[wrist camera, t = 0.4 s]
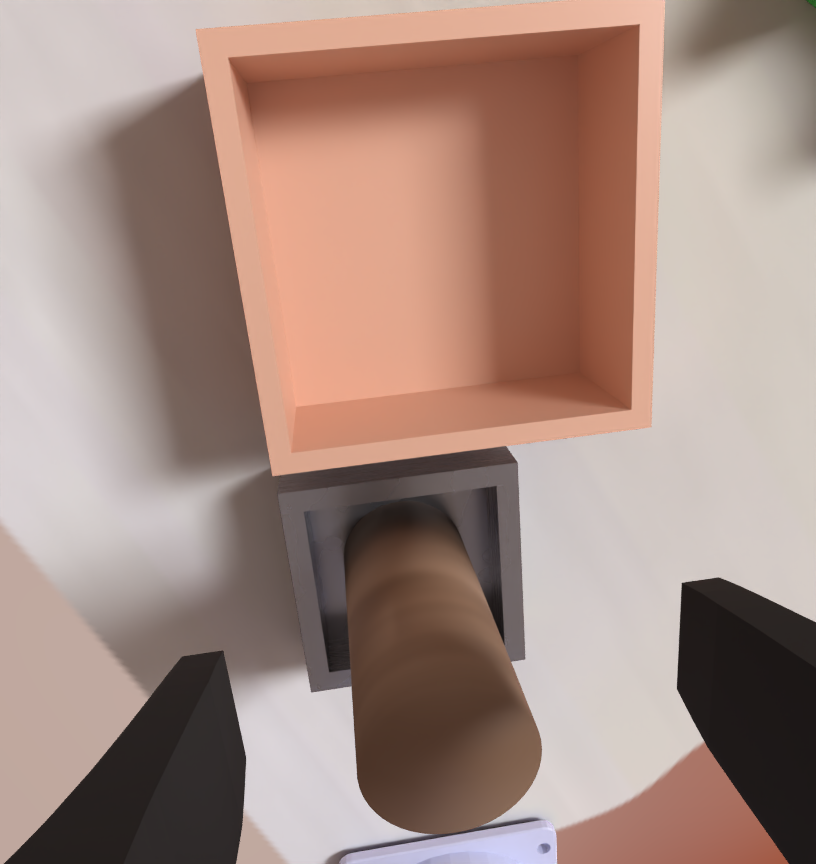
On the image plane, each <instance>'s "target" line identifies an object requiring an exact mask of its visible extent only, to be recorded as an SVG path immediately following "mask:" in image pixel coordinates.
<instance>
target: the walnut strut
mask: <svg viewBox="0 0 816 864" xmlns="http://www.w3.org/2000/svg"><path fill="white" fill-rule="evenodd" d="M344 571H345V587H346V603H347V619H348V635H349V651H350V667H351V684H352V700H353V716H354V732H355V748H356V764H357V779H358V783H359V787H360V790H361V792H362V795H363V797H364V799H365V800H366V802H367V803H368V805H369V806H370V807H371V808H372V809H373V810H374V811H375V812H376V813H377V814H378V815H379V816H380V817H382V818H383V819H384V820H386V821H388V822H389V823H391V824H393V825H395V826H398V827H400V828H402V829H406V830H409V831H413V832H418V833H425V834H449V833H457V832H461V831H466V830H470V829H473V828H476V827H479V826H481V825H483V824H486V823H488V822H490V821H492V820H494V819H496V818H497V817H499V816H501V815H502V814H504V813H505V812H506V811H508V810H509V809H510V808H512V807H513V806H514V805H515V804H516V803H517V802H518V801H519V800H520V799H521V798H522V797H523V796H524V795H525V793H526V792H527V791H528V789H529V788H530V786H531V785H532V783H533V781H534V779H535V777H536V775H537V772H538V770H539V767H540V762H541V754H542V746H541V738H540V735H539V731H538V728H537V726H536V723H535V721H534V718H533V716H532V713H531V711H530V708H529V706H528V703H527V701H526V698H525V696H524V693H523V691H522V688H521V686H520V683H519V681H518V678H517V676H516V673H515V671H514V668H513V666H512V663H511V661H510V658H509V656H508V653H507V651H506V648H505V646H504V643H503V641H502V638H501V636H500V633H499V631H498V628H497V626H496V623H495V621H494V618H493V616H492V613H491V611H490V608H489V606H488V603H487V601H486V598H485V596H484V593H483V591H482V588H481V586H480V583H479V581H478V578H477V576H476V573H475V571H474V568H473V566H472V563H471V561H470V558H469V556H468V553H467V551H466V548H465V546H464V543H463V540H462V538H461V535H460V533H459V531H458V529H457V527H456V526H455V524H454V523H453V521H452V520H451V519H450V518H449V517H448V516H447V515H446V514H444V513H443V512H442V511H440V510H439V509H437V508H435V507H433V506H431V505H428V504H425V503H421V502H415V501H400V502H394V503H389V504H386V505H383V506H381V507H379V508H376V509H374V510H373V511H371V512H370V513H368V514H367V515H366V516H364V517H363V518H362V519H361V520H360V521H359V522H358V523H357V524H356V525H355V527H354V528H353V529H352V531H351V533H350V535H349V536H348V539H347V542H346V545H345V549H344Z"/></svg>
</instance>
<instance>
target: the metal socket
mask: <svg viewBox="0 0 816 864" xmlns="http://www.w3.org/2000/svg"><path fill="white" fill-rule="evenodd" d="M277 495H278V501H279V507H280V513H281V519H282V524H283V530H284V536H285V542H286V548H287V554H288V559H289V565H290V571H291V577H292V583H293V589H294V594H295V600H296V606H297V612H298V618H299V624H300V630H301V635H302V641H303V647H304V653H305V659H306V665H307V670H308V676H309V682H310V688H311V692H317V691H324V690H330V689H337V688H343V687H350V686H352V684H351V667H350V651H349V635H348V619H347V603H346V587H345V571H344V549H345V545H346V542H347V539H348V536H349V535H350V533H351V531H352V529H353V528H354V527H355V525H356V524H357V523H358V522H359V521H360V520H361V519H362V518H363V517H364V516H366V515H367V514H368V513H370V512H371V511H373V510H374V509H376V508H379V507H381V506H383V505H386V504H389V503H394V502H400V501H415V502H421V503H425V504H428V505H431V506H433V507H435V508H437V509H439V510H440V511H442V512H443V513H444V514H446V515H447V516H448V517H449V518H450V519H451V520H452V521H453V523H454V524H455V526H456V527H457V529H458V531H459V533H460V535H461V538H462V540H463V543H464V546H465V548H466V551H467V553H468V556H469V558H470V561H471V563H472V566H473V568H474V571H475V573H476V576H477V578H478V581H479V583H480V586H481V588H482V591H483V593H484V596H485V598H486V601H487V603H488V606H489V608H490V611H491V613H492V616H493V618H494V621H495V623H496V626H497V628H498V631H499V633H500V636H501V638H502V641H503V643H504V646H505V648H506V651H507V653H508V656H509V658H510V661H518V660H524V659H525V640H524V614H523V589H522V563H521V538H520V512H519V486H518V462H517V461H516V460H515V458H514V457H513V455H512V454H511V453H510V451H509V450H508V448H507V447H506V446H502V447H494V448H487V449H479V450H471V451H463V452H456V453H448V454H440V455H432V456H425V457H417V458H409V459H402V460H394V461H386V462H378V463H371V464H363V465H355V466H347V467H340V468H332V469H324V470H316V471H309V472H301V473H293V474H286V475H280V479H279V486H278V493H277Z"/></svg>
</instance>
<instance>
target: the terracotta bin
mask: <svg viewBox="0 0 816 864" xmlns="http://www.w3.org/2000/svg"><path fill="white" fill-rule="evenodd" d="M664 16H665V0H567V1H555V2H542V3H529V4H516V5H503V6H490V7H477V8H464V9H451V10H438V11H425V12H412V13H399V14H387V15H374V16H361V17H348V18H335V19H322V20H309V21H296V22H283V23H270V24H257V25H244V26H231V27H219V28H206V29H196V35H197V40H198V46H199V52H200V58H201V64H202V70H203V75H204V81H205V87H206V93H207V99H208V104H209V110H210V116H211V122H212V128H213V133H214V139H215V145H216V151H217V157H218V162H219V168H220V174H221V180H222V186H223V192H224V197H225V203H226V209H227V215H228V221H229V226H230V232H231V238H232V244H233V250H234V255H235V261H236V267H237V273H238V279H239V285H240V290H241V296H242V302H243V308H244V314H245V319H246V325H247V331H248V337H249V343H250V348H251V354H252V360H253V366H254V372H255V377H256V383H257V389H258V395H259V401H260V407H261V412H262V418H263V424H264V430H265V436H266V441H267V447H268V453H269V459H270V465H271V470H272V476H278V475H286V474H293V473H301V472H309V471H316V470H324V469H332V468H340V467H347V466H355V465H363V464H371V463H378V462H386V461H394V460H402V459H409V458H417V457H425V456H432V455H440V454H448V453H456V452H463V451H471V450H479V449H487V448H494V447H502V446H510V445H518V444H525V443H533V442H541V441H548V440H556V439H564V438H572V437H579V436H587V435H595V434H603V433H610V432H618V431H626V430H634V429H641V428H649V427H651V420H652V389H653V358H654V327H655V295H656V264H657V233H658V202H659V171H660V140H661V109H662V78H663V47H664Z"/></svg>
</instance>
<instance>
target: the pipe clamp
mask: <svg viewBox="0 0 816 864" xmlns="http://www.w3.org/2000/svg"><path fill="white" fill-rule="evenodd" d="M806 1H807V2H809V3H810V4H811V5H813V6H814V7H815V8H816V0H806Z"/></svg>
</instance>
